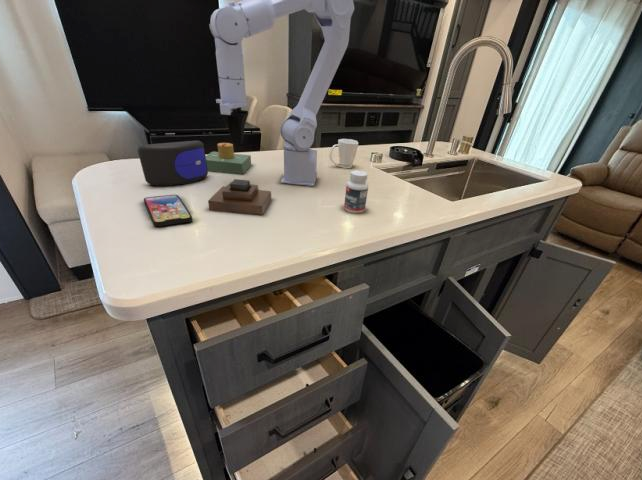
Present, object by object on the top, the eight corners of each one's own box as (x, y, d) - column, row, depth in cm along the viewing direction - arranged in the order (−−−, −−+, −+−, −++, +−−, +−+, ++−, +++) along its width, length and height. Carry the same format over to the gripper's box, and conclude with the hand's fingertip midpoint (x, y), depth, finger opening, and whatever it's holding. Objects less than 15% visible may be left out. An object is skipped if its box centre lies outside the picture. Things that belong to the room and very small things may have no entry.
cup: (359, 168, 110) (362, 143, 105) (334, 170, 106) (336, 144, 101) (349, 163, 115) (351, 138, 110) (324, 164, 111) (326, 138, 106)
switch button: (250, 187, 76) (249, 180, 75) (246, 193, 73) (245, 185, 72) (235, 186, 76) (234, 178, 75) (230, 191, 73) (229, 183, 72)
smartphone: (177, 194, 76) (193, 217, 66) (178, 198, 76) (193, 221, 67) (142, 197, 72) (153, 223, 63) (143, 201, 73) (154, 227, 63)
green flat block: (251, 165, 103) (250, 154, 101) (242, 174, 95) (241, 163, 93) (213, 161, 103) (212, 150, 101) (202, 170, 95) (200, 158, 93)
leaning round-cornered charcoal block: (152, 190, 79) (141, 148, 73) (145, 184, 81) (134, 144, 76) (214, 180, 89) (209, 142, 83) (206, 175, 91) (201, 139, 85)
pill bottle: (339, 208, 80) (343, 171, 75) (353, 203, 83) (358, 168, 78) (355, 215, 77) (359, 177, 72) (369, 210, 80) (374, 174, 75)
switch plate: (271, 199, 81) (270, 183, 78) (262, 215, 73) (261, 198, 70) (223, 195, 80) (221, 178, 78) (209, 210, 72) (206, 192, 70)
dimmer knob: (221, 154, 98) (219, 141, 96) (235, 156, 99) (234, 142, 96) (216, 158, 95) (215, 144, 93) (231, 159, 95) (230, 145, 93)
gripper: (224, 75, 79) (230, 136, 87) (202, 78, 67) (211, 148, 75) (252, 78, 79) (256, 138, 87) (236, 81, 67) (242, 151, 75)
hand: (237, 143), depth 81 cm, fingers closed
